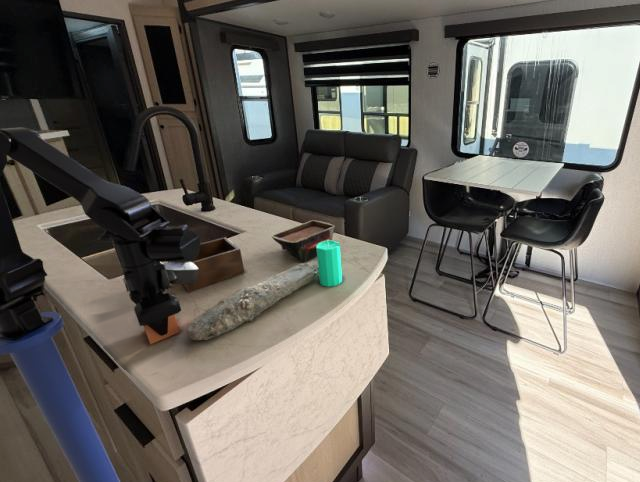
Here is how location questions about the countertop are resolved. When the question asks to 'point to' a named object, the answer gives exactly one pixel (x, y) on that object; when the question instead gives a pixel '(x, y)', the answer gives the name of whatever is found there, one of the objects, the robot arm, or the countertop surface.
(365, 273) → the countertop surface
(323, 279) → the candle
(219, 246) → the chest
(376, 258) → the countertop surface
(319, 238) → the baking dish
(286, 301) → the countertop surface
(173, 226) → the robot arm
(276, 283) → the elongated rock
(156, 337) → the block
